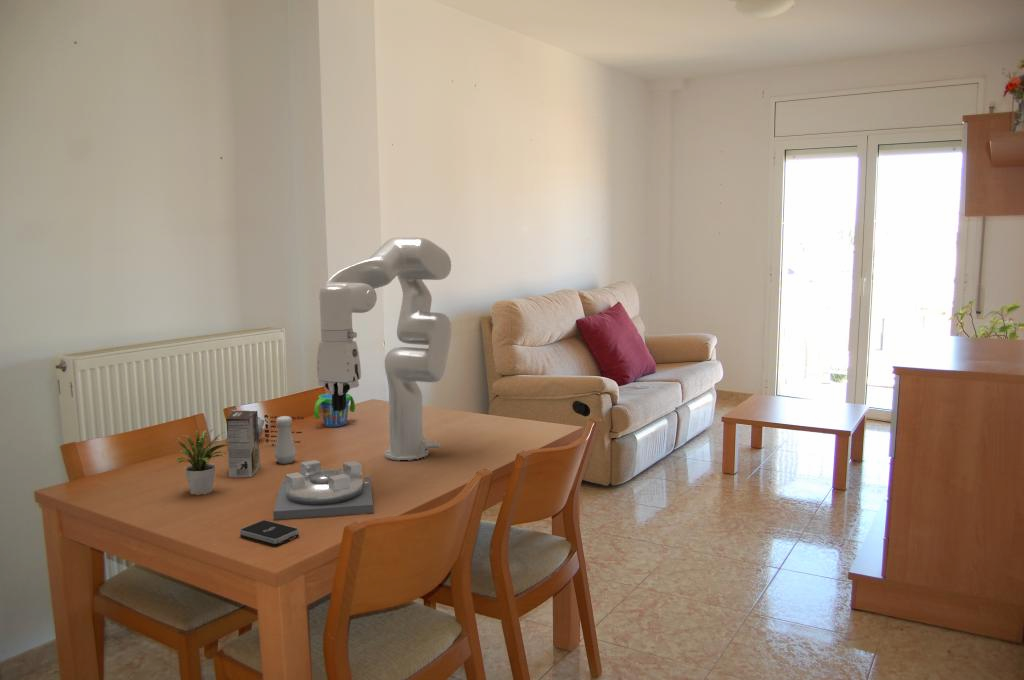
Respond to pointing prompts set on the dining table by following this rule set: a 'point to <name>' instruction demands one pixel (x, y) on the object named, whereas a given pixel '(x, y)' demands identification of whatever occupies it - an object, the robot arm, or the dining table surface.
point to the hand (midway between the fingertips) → (339, 409)
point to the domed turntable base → (324, 483)
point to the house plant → (200, 463)
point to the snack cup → (328, 414)
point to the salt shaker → (284, 441)
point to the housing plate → (323, 505)
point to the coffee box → (243, 443)
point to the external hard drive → (269, 533)
